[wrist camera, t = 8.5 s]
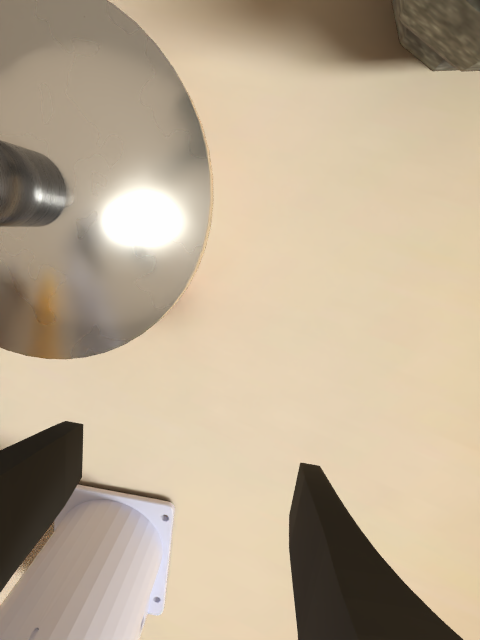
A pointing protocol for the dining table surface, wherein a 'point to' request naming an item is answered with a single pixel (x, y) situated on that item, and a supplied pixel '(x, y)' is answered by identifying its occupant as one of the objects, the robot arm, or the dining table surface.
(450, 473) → the dining table surface
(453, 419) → the dining table surface
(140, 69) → the steel lid
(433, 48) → the mortar and pestle
